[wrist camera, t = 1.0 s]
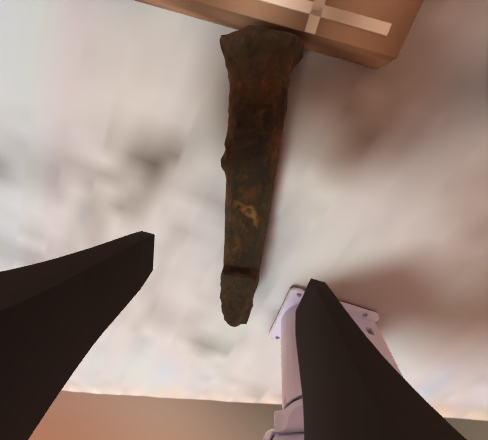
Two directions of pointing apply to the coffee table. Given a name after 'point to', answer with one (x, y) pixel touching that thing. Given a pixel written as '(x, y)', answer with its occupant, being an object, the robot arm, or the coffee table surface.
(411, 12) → the light brown wooden board
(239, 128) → the hand tool
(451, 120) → the coffee table surface
